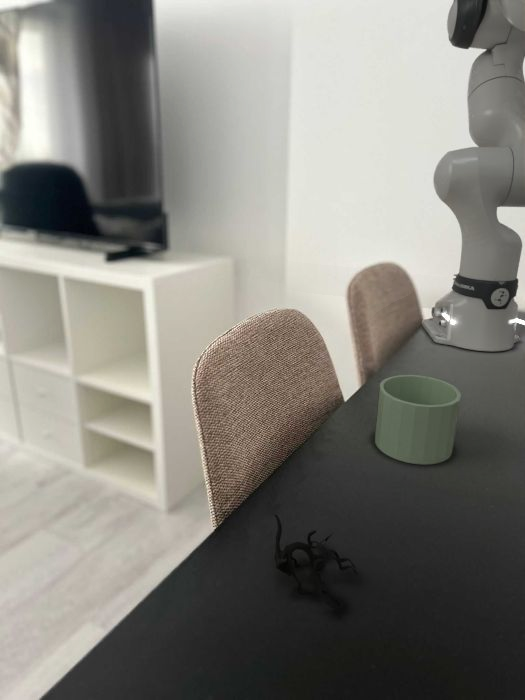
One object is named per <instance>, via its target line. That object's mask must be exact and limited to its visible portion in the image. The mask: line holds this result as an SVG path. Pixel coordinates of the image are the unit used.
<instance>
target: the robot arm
mask: <svg viewBox="0 0 525 700" xmlns="http://www.w3.org/2000/svg"><path fill="white" fill-rule="evenodd" d="M452 1H453V2H452V4H451V6H450V8H449V11H448V14H447V20H446V29H447V30H446V31H447V35H448V41H449V43H450V44H451V46H452V47H455V48H458V49H462V50H469V49H476V50H485V51H482V52H481V53H480V54H479V55H478V56H477V57H476V58H475V59H474V61H473V62H472V64H471V67H470V70H469V73H468V74H469V75H468V81H467V90H466V91H467V93H466V103H467V120H468V121H467V122H468V132H469V136H470V138H471V140H472V142H473V143H474V144H475V145H476V146H470V147H464V148H463V147H462V148H458V149H454V150H449V151H447V152H446V153H445V154H444V155H443V156H441V158H440V159H439V161H438V163H437V165H436V166H435V169H434V171H433V183H432V184H433V189H434V191H435V194H436V195H437V197H438V199H439V200H440V201H441V202H442V203H443V204H444V205H446V206H447V207H448V208H449V210H451V212H452V213H453V215H454V217H455V219H456V220H457V223H458V225H459V229H460V234H461V252H460V262H459V270H458V273H456V274H453V276H454V278H452V280H453V283H452V286H451V290H450V291H449V292H448V293H447V294H445V295H444V296H442V297H441V298H440V299H438V300H437V301H436V302H435V303H434V306H432V307H431V312H430V313H431V317H432V318H426V319H422V320H421V326H422V327H423V329H424V330H425V332H427V334H428V335H429V337H430V338H431V339H432V340H433V342H434V343H436V344H442V345H447V346H448V345H449V346H453V347H456V348H459V349H460V348H461V349H465V350H469V351H470V350H471V351H478V352H503V351H508V350H511V349H512V348H514V344H516V343H518V342H520V336H519V335H518V334H516V333H517V324H521V325H524V326H525V320H522V319H519V318H518V310H519V305H518V303H517V301H515V297H517V293H518V289H519V278H518V273H519V267H520V262H521V257H522V251H523V250H522V249H523V240H522V239H521V236H520V235H519V234H518V232H516V231H515V230H513V229H512V228H511V227H509V226H507V225H506V224H504V223H502V222H500V221H499V218H498V208H525V74H524V61H525V0H452Z"/></svg>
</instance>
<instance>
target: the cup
mask: <svg viewBox="0 0 525 700" xmlns="http://www.w3.org/2000/svg"><path fill="white" fill-rule="evenodd" d="M461 402H462V393H461V391H460V390H459V389H458V388H457V387H456V386H455V385H453V384H451V383H449V382H447V381H445V380H441V379H438V378H434V377H430V376H425V375H417V374H399V375H394V376H389V377H386V378H385V379H382V381H381V382H380V383H379V390H378V399H377V408H376V409H377V410H376V419H375V429H374V443H375V445H376V447H377V448H378V449H379V451H381V453H383V454H384V455H386V456H388V457H389V458H391V459H394V460H397V461H400V462H403V463H407V464H411V465H412V464H413V465H421V466H422V465H423V466H425V465H426V466H427V465H435V464H440V463H443V462H445V461H447V460H449V459H450V458H451V457H452V455H453V452H454V447H455V440H456V433H457V427H458V422H459V417H460V416H459V415H460V410H461V409H460V408H461Z"/></svg>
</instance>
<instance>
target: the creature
mask: <svg viewBox="0 0 525 700" xmlns="http://www.w3.org/2000/svg"><path fill="white" fill-rule="evenodd" d="M273 517H275V519H276V523H277V530H276V535H275V547H274V548H275V549H274V562H275V568H276V569H277V570H279V571H280V572H282V573H284V574H286V575H287V576H288V577H291V576H292V577H293V578H294V579H295V581H296V583H297V586H298V587H297V588H298V592H299V594H306V593H310V594H313V591H310V590H308V589H307V590H304V589H303V588H302V582H301V581H300V580H299V579H298V577H297V574H296V571H295V568H294V567H296V568H298V567H300V566H301V565H302V564H303V563H304V562H306V560H303V561H301V562H300V563H298V560H297V559H296V558H295V557H293V553H294V552H296V550H301V551H303V552H304V553H306V555H307V557H308V559H309V563H310V565H311V567H312V569H313V572H314V573H315V575H316V582H317V592H316V594H319V596H320V598H322V599H323V601H324V602H325V603H326V604H327V605H328V606H330V608H333V609H335V610H338V611H340V610H342V609H343V607H344V606H343V603H342V602H341V601H340V600H338V599H337V598H336V597H335V596H333V595H332V594H331V593H330V592H329V591H328V590H327V589H326V588H325V587H324V586H322V578H321V575H320V573H319V572H321V571H323V569H324V568H325V566H326V564H327V563H328V561H329V560H335V561H336V563H337V565H338V569H339V570H340V571H346V570H348V569H352V570H353V572H354V574H356V575H359V574H358V572H357V570H355V569H356V566H355V565H354V563H353V562H352V561H351V559H350V558H347V557H341V558H340V556H339V552H337V551H336V550H334V549H330V550H327V549H326V548H325V545H326V544H327V541H328V540H329V539H330V538H331V537H332V536H333V533H331V534H330V535H328V536H327V537H326V538H324V539H323V540H321V541H320V542H318V541H317V540H316V541H315V540H311V537H312V536H313V535H314V534H316V533H317V530H314V529H313V530H310V532H308V533H307V539H306V540H307V543H306V542H302V541H295V542H292V543H289V544H287V545H285V546H284V548H283V550H282V549H281V547H280V546H281V545H280V543H281V537H282V532H283V529H282V523H281V519H280V517H279V515H278V514H274V515H273ZM323 542H324V545H322V543H323ZM313 543H315V544H317V545H315V546H314V545H313ZM319 546H321V547H322V549H321V552H320V553H319V554H316V553H314V551H313V549H316V548H318V547H319ZM324 550H325V552H324V553H323V551H324ZM329 552H330V553H333V554H334V556H331V557H328V556H329ZM327 557H328V558H327ZM325 558H327V559H326V560H325ZM348 561H349V562H350V565H349V564H348V565H344V566H343V565H342V563H344V562H348ZM323 591H324V592H326V593H327V594H328V595H329V596H330V597H331V598H333V599H334V600H335V601H337V602H338V603H339V604H340V606H339V607H338V606H335V605H333V604H332V603H331V602H330V601H329V599H328V598H327V596H326V595H325V594H324V592H323Z"/></svg>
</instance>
